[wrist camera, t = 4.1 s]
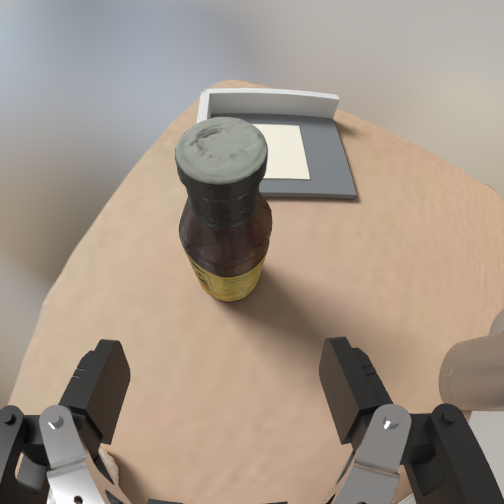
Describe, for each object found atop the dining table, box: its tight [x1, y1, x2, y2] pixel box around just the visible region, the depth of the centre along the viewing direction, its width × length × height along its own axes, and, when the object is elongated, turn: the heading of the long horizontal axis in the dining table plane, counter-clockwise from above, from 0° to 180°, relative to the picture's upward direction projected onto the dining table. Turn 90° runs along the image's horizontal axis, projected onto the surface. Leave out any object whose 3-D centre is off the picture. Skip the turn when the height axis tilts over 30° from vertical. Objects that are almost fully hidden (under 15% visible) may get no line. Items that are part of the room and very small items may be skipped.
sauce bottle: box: [175, 117, 272, 302], centre depth 20 cm, size 6×6×20 cm
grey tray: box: [197, 88, 357, 199], centre depth 35 cm, size 20×16×5 cm
